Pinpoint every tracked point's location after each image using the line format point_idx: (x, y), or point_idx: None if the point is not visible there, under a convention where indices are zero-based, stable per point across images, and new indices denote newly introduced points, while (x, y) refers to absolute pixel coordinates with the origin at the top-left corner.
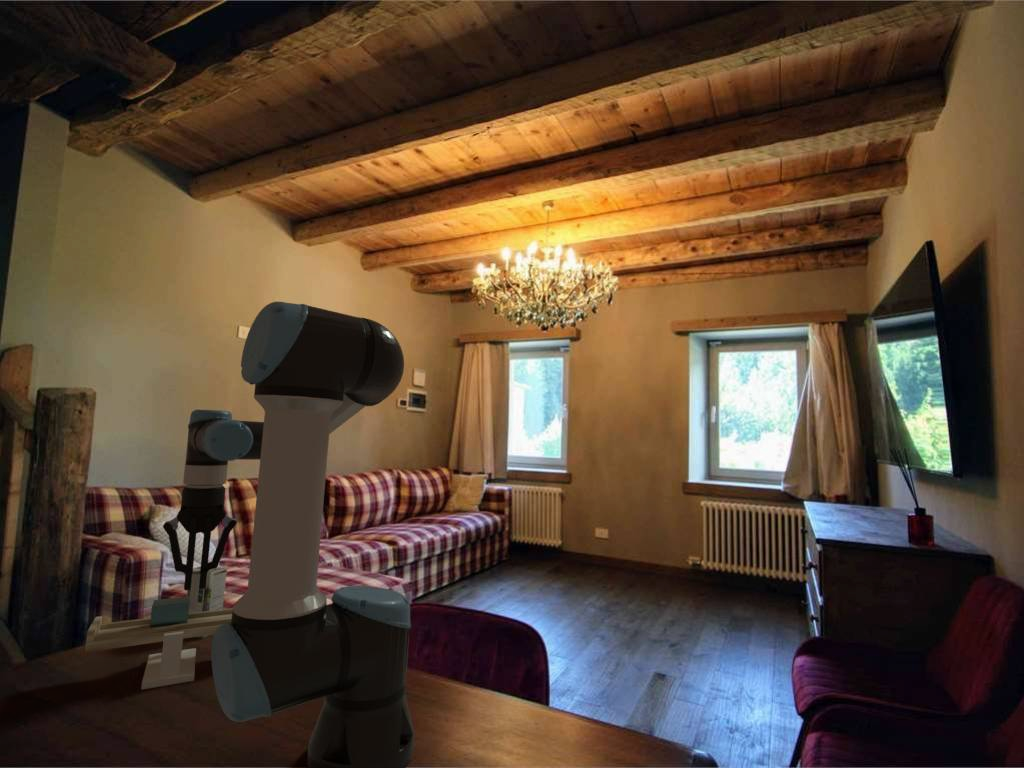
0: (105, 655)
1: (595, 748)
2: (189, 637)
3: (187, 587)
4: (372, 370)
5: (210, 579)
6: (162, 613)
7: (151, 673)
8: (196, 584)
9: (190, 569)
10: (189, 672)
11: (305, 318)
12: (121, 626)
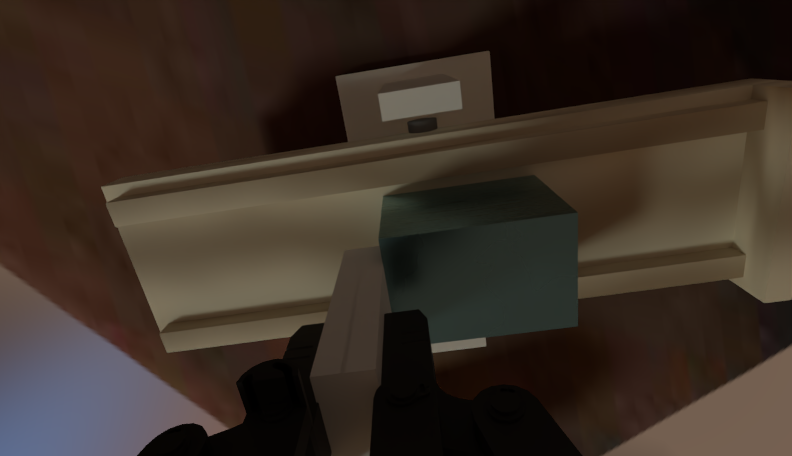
0: (623, 337)
1: None
2: (361, 140)
3: (405, 321)
4: None
5: None
6: (505, 203)
7: (473, 120)
8: (342, 318)
9: (393, 405)
10: (354, 95)
11: None
12: (653, 258)
